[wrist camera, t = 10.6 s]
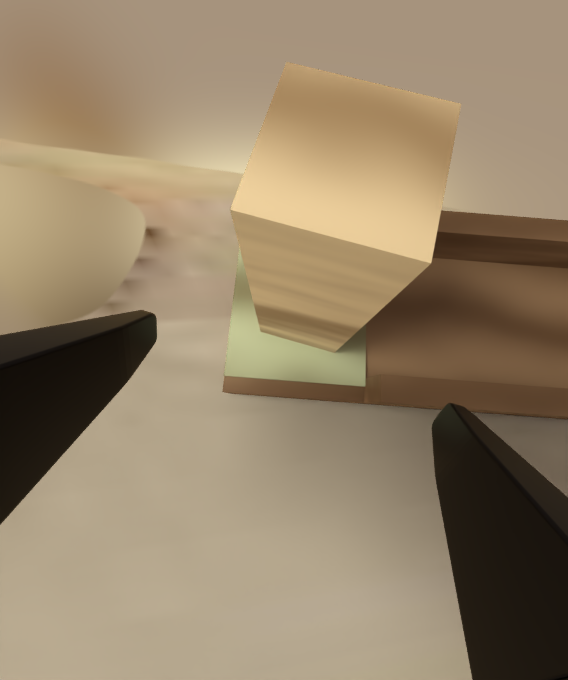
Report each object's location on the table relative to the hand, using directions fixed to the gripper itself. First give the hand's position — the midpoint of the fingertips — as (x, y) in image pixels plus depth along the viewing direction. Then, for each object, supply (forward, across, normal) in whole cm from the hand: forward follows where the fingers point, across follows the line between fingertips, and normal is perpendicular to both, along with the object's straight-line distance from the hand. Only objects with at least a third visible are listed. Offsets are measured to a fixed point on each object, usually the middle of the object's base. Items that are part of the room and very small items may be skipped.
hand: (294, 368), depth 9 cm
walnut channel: (+14, -9, +3) cm, 17 cm away
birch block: (+11, 0, +3) cm, 11 cm away
